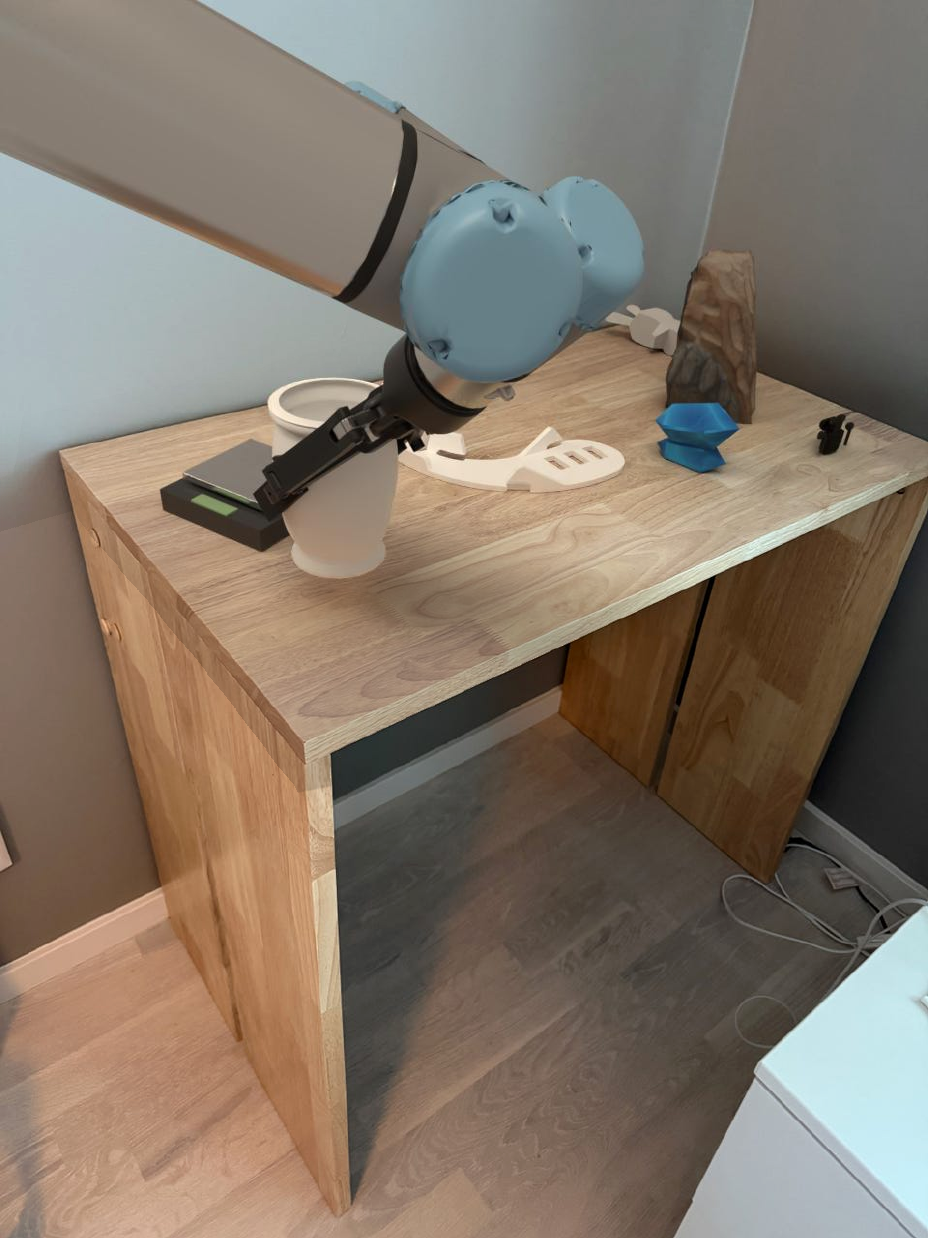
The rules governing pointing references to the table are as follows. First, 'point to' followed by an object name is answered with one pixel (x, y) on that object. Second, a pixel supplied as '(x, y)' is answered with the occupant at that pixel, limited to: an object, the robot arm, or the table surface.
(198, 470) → the scale platform
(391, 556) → the table surface
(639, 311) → the bunny figurine
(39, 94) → the robot arm
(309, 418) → the jar
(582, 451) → the cable organizer
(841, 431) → the wireless earbuds
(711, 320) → the brown rock
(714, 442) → the crystal
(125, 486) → the table surface
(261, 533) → the scale
